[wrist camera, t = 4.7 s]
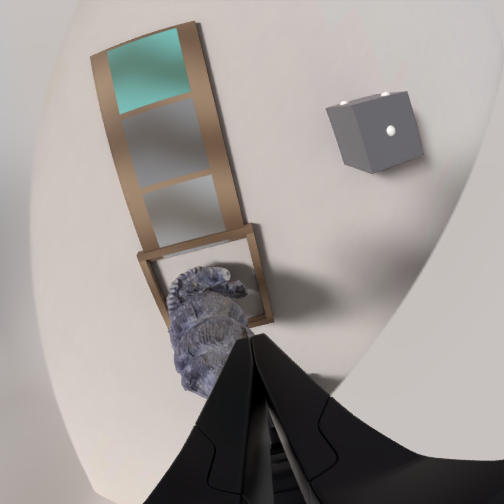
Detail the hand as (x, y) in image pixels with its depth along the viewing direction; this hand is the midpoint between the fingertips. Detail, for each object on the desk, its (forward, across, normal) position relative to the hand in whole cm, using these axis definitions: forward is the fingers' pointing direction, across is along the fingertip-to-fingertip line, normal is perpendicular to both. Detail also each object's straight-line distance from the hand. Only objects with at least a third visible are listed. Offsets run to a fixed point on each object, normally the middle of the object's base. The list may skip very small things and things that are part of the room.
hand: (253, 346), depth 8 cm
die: (+12, -10, -5) cm, 16 cm away
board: (+12, +3, -6) cm, 14 cm away
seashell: (+12, +3, +4) cm, 13 cm away
